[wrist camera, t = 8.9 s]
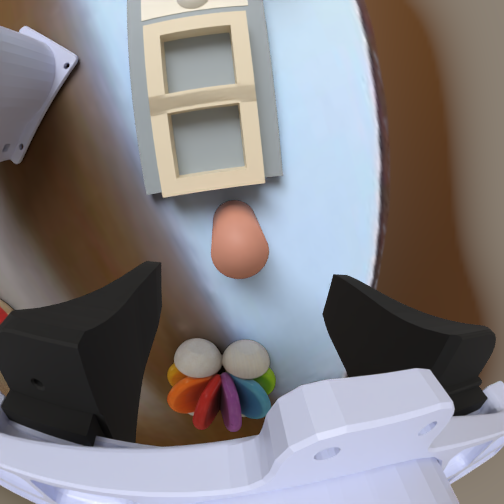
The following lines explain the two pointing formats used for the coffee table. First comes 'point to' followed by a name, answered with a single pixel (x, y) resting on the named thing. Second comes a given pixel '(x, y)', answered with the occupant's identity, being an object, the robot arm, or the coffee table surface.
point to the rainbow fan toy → (221, 382)
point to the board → (202, 94)
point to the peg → (238, 241)
